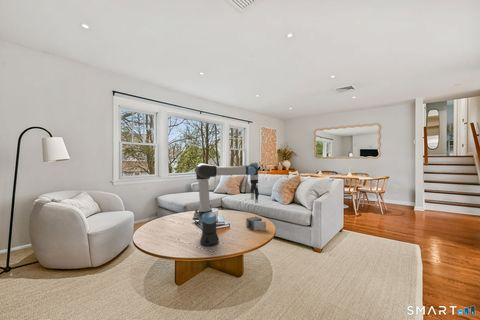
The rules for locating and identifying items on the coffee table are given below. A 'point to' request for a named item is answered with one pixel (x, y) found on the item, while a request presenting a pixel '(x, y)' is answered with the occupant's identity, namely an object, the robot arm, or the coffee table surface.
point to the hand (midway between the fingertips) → (254, 201)
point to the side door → (259, 225)
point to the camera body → (250, 221)
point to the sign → (196, 215)
